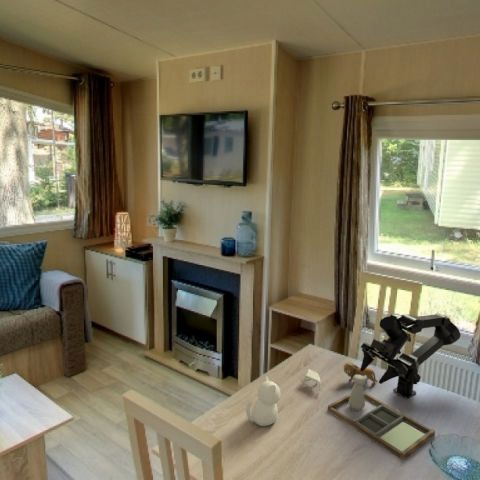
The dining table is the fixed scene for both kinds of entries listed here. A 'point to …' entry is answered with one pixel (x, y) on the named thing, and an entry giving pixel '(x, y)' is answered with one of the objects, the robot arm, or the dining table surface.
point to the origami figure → (312, 376)
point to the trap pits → (380, 420)
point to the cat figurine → (265, 404)
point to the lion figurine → (359, 372)
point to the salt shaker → (357, 394)
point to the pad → (402, 436)
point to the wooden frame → (402, 455)
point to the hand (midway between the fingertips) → (369, 376)
